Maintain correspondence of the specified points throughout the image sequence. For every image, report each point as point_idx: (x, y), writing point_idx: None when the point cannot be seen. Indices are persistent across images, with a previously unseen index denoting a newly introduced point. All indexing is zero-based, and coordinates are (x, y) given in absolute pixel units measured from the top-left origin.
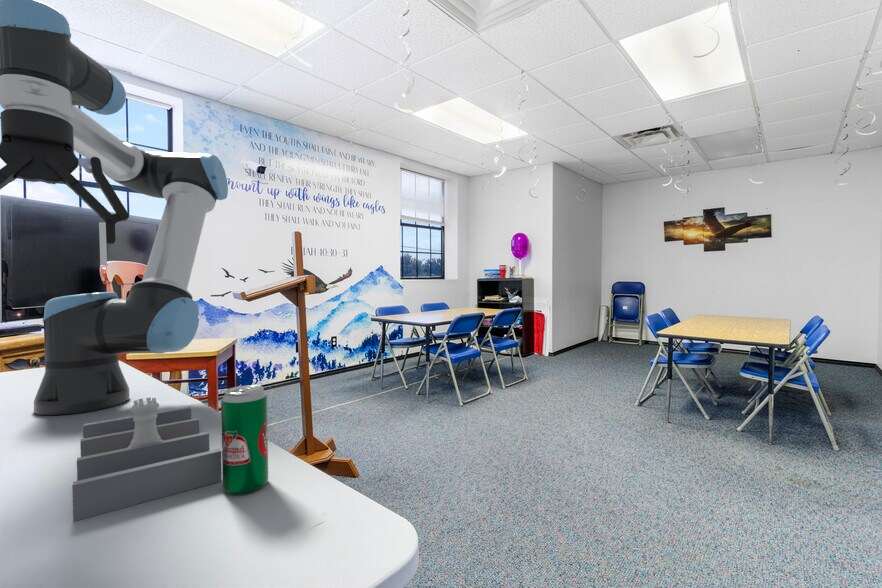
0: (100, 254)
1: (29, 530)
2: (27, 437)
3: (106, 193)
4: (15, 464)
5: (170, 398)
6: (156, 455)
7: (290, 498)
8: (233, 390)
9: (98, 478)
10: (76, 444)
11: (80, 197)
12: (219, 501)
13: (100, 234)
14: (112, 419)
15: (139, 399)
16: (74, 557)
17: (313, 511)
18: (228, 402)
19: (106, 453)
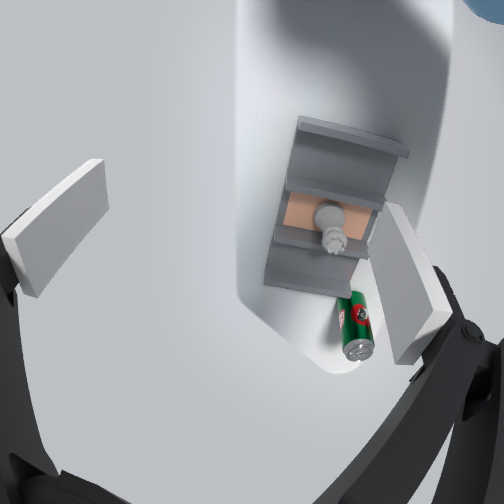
0: (373, 269)
1: (245, 261)
2: (255, 12)
3: (441, 483)
4: (241, 112)
5: None
6: None
7: None
8: (353, 351)
9: (277, 285)
10: (296, 89)
11: (374, 450)
12: (330, 303)
13: (387, 323)
14: (329, 128)
15: (333, 239)
16: (260, 302)
17: None
18: (343, 352)
19: (293, 242)
